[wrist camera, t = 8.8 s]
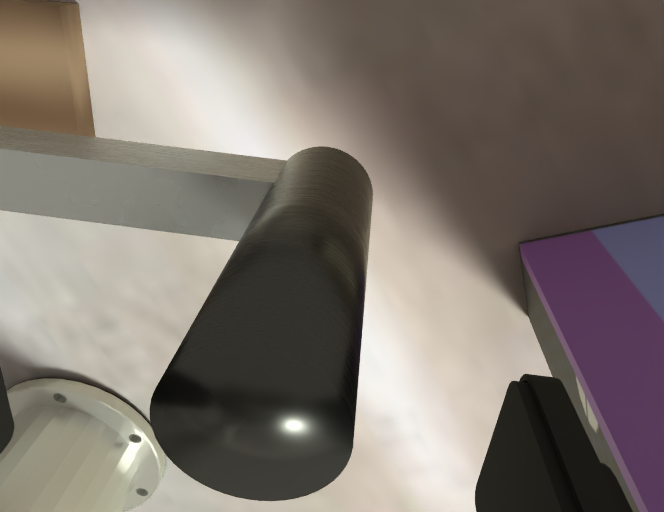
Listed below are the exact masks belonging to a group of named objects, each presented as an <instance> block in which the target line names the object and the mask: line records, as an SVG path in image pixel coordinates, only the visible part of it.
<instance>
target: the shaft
mask: <svg viewBox="0 0 664 512" xmlns="http://www.w3.org/2000/svg"><path fill="white" fill-rule="evenodd" d="M372 201H373V190H372V184H371V181H370V178H369V176H368V174H367V172H366V170H365V169H364V168H363V166H362V165H361V164H360V163H359V162H358V161H357V160H356V159H355V158H354V157H352V156H351V155H349V154H347V153H346V152H343V151H341V150H338V149H335V148H331V147H312V148H308V149H305V150H302V151H300V152H298V153H296V154H295V155H293V156H292V157H290V158H289V159H288V160H287V161H285V160H277V159H269V158H261V157H252V156H244V155H236V154H228V153H220V152H212V151H204V150H195V149H187V148H179V147H171V146H163V145H155V144H147V143H138V142H130V141H122V140H114V139H106V138H98V137H89V136H81V135H73V134H65V133H57V132H49V131H41V130H32V129H24V128H16V127H8V126H0V210H3V211H11V212H19V213H26V214H34V215H42V216H50V217H57V218H65V219H73V220H80V221H88V222H96V223H103V224H111V225H119V226H127V227H134V228H142V229H150V230H157V231H165V232H173V233H180V234H188V235H196V236H204V237H211V238H219V239H227V240H234V241H239V243H238V245H237V246H236V248H235V250H234V252H233V253H232V255H231V257H230V259H229V260H228V262H227V264H226V266H225V267H224V269H223V271H222V273H221V275H220V276H219V278H218V280H217V282H216V283H215V285H214V287H213V289H212V290H211V292H210V294H209V296H208V297H207V299H206V301H205V303H204V304H203V306H202V308H201V310H200V311H199V313H198V315H197V317H196V318H195V320H194V322H193V324H192V325H191V327H190V329H189V331H188V332H187V334H186V336H185V338H184V339H183V341H182V343H181V345H180V346H179V348H178V350H177V352H176V354H175V355H174V357H173V359H172V361H171V362H170V364H169V366H168V368H167V369H166V371H165V373H164V375H163V376H162V378H161V380H160V382H159V383H158V385H157V387H156V389H155V391H154V393H153V396H152V399H151V404H150V421H151V426H152V430H153V432H154V435H155V438H156V440H157V442H158V443H159V445H160V447H161V448H162V450H163V451H164V453H165V454H166V455H167V456H168V458H169V459H170V460H171V461H172V462H173V463H174V464H175V465H176V466H177V467H178V468H180V469H181V470H182V471H183V472H184V473H186V474H187V475H189V476H190V477H191V478H193V479H195V480H196V481H198V482H200V483H201V484H203V485H205V486H207V487H209V488H212V489H214V490H216V491H219V492H222V493H224V494H228V495H231V496H235V497H239V498H244V499H250V500H259V501H279V500H288V499H294V498H299V497H302V496H306V495H309V494H311V493H314V492H316V491H318V490H320V489H322V488H324V487H325V486H327V485H328V484H330V483H331V482H332V481H334V480H335V479H336V478H337V477H338V476H339V475H340V474H341V472H342V471H343V469H344V468H345V467H346V465H347V463H348V461H349V459H350V456H351V453H352V449H353V439H354V426H355V414H356V401H357V389H358V376H359V364H360V351H361V338H362V326H363V313H364V301H365V288H366V276H367V263H368V251H369V238H370V226H371V213H372Z"/></svg>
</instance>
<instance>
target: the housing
mask: <svg viewBox="0 0 664 512" xmlns="http://www.w3.org/2000/svg"><path fill="white" fill-rule="evenodd" d="M0 126H8V127H16V128H24V129H32V130H41V131H49V132H57V133H65V134H73V135H81V136H89V137H95V131H94V123H93V115H92V107H91V100H90V92H89V84H88V76H87V68H86V60H85V53H84V45H83V37H82V29H81V21H80V14H79V6H78V4H75V3H66V2H57V1H49V0H0Z"/></svg>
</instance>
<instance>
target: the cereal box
mask: <svg viewBox="0 0 664 512" xmlns="http://www.w3.org/2000/svg"><path fill="white" fill-rule="evenodd" d="M519 250H520V257H521V264H522V272H523V279H524V286H525V294H526V301H527V308H528V316H529V319H530V322H531V324H532V327H533V329H534V332H535V334H536V337H537V339H538V342H539V344H540V346H541V349H542V351H543V354H544V356H545V359H546V361H547V364H548V366H549V369H550V371H551V374H552V376H553V377H554V378H558V379H560V380H561V382H562V383H563V385H564V387H565V389H566V391H567V393H568V395H569V397H570V400H571V402H572V404H573V406H574V408H575V410H576V412H577V414H578V416H579V419H580V421H581V423H582V425H583V427H584V429H585V431H586V433H587V435H588V438H589V440H590V442H591V444H592V446H593V448H594V450H595V452H596V454H597V456H598V459H599V461H600V463H604V464H606V465H607V466H608V467H609V468H610V469H611V470H612V472H613V473H614V475H615V476H616V478H617V480H618V482H619V484H620V486H621V488H622V490H623V492H624V494H625V496H626V498H627V500H628V503H629V505H630V507H631V509H632V511H633V512H664V214H661V215H656V216H651V217H646V218H641V219H635V220H630V221H625V222H620V223H615V224H610V225H605V226H600V227H595V228H590V229H584V230H579V231H574V232H569V233H564V234H559V235H554V236H549V237H544V238H539V239H533V240H528V241H523V242H519Z"/></svg>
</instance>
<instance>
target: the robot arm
mask: <svg viewBox="0 0 664 512" xmlns="http://www.w3.org/2000/svg"><path fill="white" fill-rule="evenodd" d="M164 469H165V455H164V451H163V450H162V448H161V447H160V445H159V443H158V442H157V440H156V438H155V435H154V432H153V430H152V427H151V426H150V425H149V424H148V423H147V421H146V420H145V419H144V418H143V417H142V416H141V415H140V414H139V413H138V412H136V411H135V410H134V409H133V408H132V407H131V406H129V405H128V404H126V403H125V402H123V401H122V400H120V399H119V398H117V397H115V396H114V395H112V394H110V393H107V392H105V391H103V390H101V389H99V388H97V387H93V386H90V385H87V384H84V383H81V382H76V381H71V380H65V379H49V378H43V379H36V380H29V381H26V382H23V383H20V384H17V385H15V386H13V387H12V388H10V389H9V390H7V391H6V388H5V384H4V380H3V376H2V372H1V368H0V512H123V511H128V510H131V509H133V508H136V507H138V506H140V505H142V504H143V503H145V502H146V501H147V500H149V499H150V498H151V497H152V495H153V494H154V493H155V491H156V490H157V488H158V486H159V484H160V481H161V479H162V477H163V474H164ZM475 505H476V511H477V512H633V511H632V509H631V507H630V505H629V503H628V500H627V498H626V496H625V494H624V492H623V490H622V488H621V486H620V484H619V482H618V480H617V478H616V476H615V475H614V473H613V472H612V470H611V469H610V468H609V467H608V466H607V465H606V464H604V463H600V461H599V459H598V456H597V454H596V452H595V450H594V448H593V446H592V444H591V442H590V440H589V438H588V435H587V433H586V431H585V429H584V427H583V425H582V423H581V421H580V419H579V416H578V414H577V412H576V410H575V408H574V406H573V404H572V402H571V400H570V397H569V395H568V393H567V391H566V389H565V387H564V385H563V383H562V382H561V380H560V379H558V378H554V377H546V376H538V375H530V374H524V375H523V376H522V377H521V379H520V381H519V382H518V381H512V382H511V383H510V384H509V386H508V389H507V392H506V395H505V399H504V402H503V405H502V408H501V411H500V414H499V417H498V420H497V423H496V426H495V429H494V432H493V435H492V439H491V442H490V445H489V448H488V451H487V454H486V457H485V460H484V463H483V466H482V469H481V472H480V475H479V479H478V482H477V485H476V491H475Z"/></svg>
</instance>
